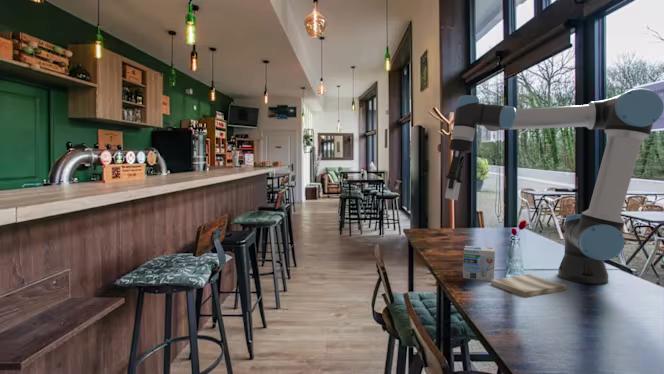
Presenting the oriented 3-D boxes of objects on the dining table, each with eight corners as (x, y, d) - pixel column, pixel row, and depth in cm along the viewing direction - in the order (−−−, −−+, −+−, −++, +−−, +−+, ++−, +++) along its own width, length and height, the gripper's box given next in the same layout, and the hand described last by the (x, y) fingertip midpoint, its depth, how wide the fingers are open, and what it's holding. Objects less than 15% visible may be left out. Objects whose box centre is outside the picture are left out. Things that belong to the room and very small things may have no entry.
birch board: (529, 278, 139) (529, 274, 139) (565, 289, 127) (566, 285, 126) (490, 284, 133) (491, 279, 133) (525, 297, 120) (525, 292, 120)
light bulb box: (462, 278, 140) (463, 248, 139) (463, 273, 146) (464, 245, 145) (494, 281, 136) (495, 251, 135) (494, 276, 142) (495, 247, 141)
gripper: (454, 144, 150) (445, 198, 150) (446, 132, 127) (435, 196, 127) (475, 146, 147) (465, 201, 147) (470, 134, 124) (458, 200, 124)
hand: (451, 199), depth 137 cm, fingers open, 13 cm apart
